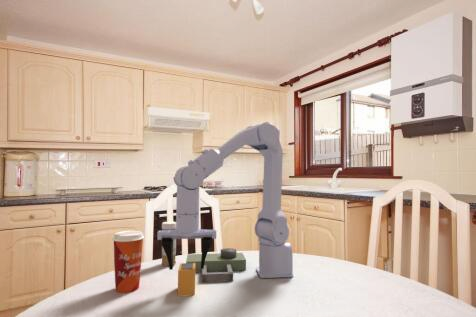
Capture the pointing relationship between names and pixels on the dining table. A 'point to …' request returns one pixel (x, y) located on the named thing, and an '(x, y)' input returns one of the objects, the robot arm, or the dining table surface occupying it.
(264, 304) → the dining table surface
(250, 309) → the dining table surface
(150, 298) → the dining table surface
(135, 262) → the paper cup
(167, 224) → the sprinkles bottle
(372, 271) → the dining table surface
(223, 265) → the green block with knob
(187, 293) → the chute block
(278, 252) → the robot arm
